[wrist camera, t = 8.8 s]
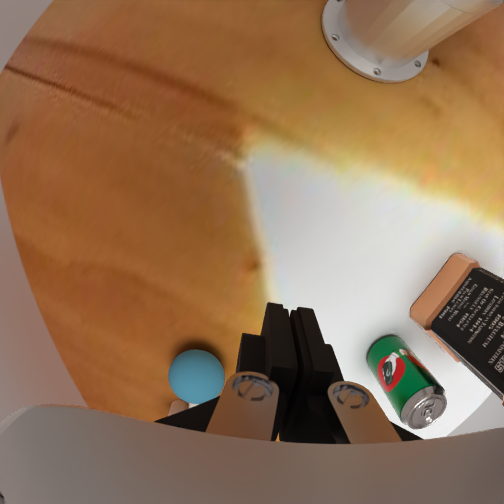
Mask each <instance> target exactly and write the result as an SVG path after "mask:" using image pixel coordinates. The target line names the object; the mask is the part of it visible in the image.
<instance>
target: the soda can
mask: <svg viewBox="0 0 504 504" xmlns="http://www.w3.org/2000/svg"><path fill="white" fill-rule="evenodd" d="M367 362H368V365H369V367H370V369H371V371H372V372H373V374H374V376H375V377H376V379H377V381H378V382H379V384H380V386H381V388H382V389H383V391H384V393H385V394H386V396H387V398H388V399H389V401H390V403H391V405H392V406H393V408H394V410H395V412H396V413H397V415H398V417H399V418H400V420H401V422H402V423H403V424H405V425H408V426H409V427H410V428H412V429H422V428H425V427H427V426H429V425H431V424H432V423H434V422H435V421H436V420H437V419H438V418H439V417H440V416H441V415H442V414H443V412H444V410H445V408H446V405H447V400H446V397H445V390H444V388H443V387H442V386H441V385H440V384H439V382H438V381H437V380H436V379H435V378H434V376H433V375H432V374H431V373H430V372H429V371H428V369H427V368H426V367H425V366H424V365H423V364H422V362H421V361H420V360H419V359H418V358H417V357H416V355H415V354H414V353H413V352H412V351H411V350H410V349H409V347H408V346H407V345H406V344H405V343H404V342H403V341H402V340H401V339H400V338H398V337H395V336H389V337H385V338H383V339H381V340H379V341H378V342H376V343H375V344H374V345H373V347H372V348H371V350H370V351H369V354H368V358H367Z"/></svg>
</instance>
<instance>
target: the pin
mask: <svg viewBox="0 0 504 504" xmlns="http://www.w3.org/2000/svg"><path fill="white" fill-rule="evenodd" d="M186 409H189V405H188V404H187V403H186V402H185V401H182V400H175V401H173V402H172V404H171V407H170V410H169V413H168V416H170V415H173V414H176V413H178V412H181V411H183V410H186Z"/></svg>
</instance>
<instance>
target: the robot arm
mask: <svg viewBox="0 0 504 504" xmlns="http://www.w3.org/2000/svg"><path fill="white" fill-rule="evenodd" d="M503 2H504V0H328V2H327V4H326V5H325V7H324V10H323V13H322V20H321V23H322V31H323V34H324V36H325V39H326V41H327V43H328V45H329V47H330V48H331V50H332V51H333V52H334V54H335V55H336V56H337V57H338V58H339V59H340V60H341V61H342V62H343V63H344V64H345V65H346V66H347V67H349V68H350V69H352V70H353V71H354V72H356V73H358V74H360V75H362V76H364V77H366V78H368V79H371V80H374V81H377V82H383V83H399V82H404V81H406V80H409V79H411V78H413V77H414V76H416V75H417V74H419V73H420V72H421V70H422V69H423V68H424V66H425V64H426V62H427V59H428V54H429V49H430V48H432V47H434V46H435V45H437V44H438V43H440V42H441V41H443V40H444V39H446V38H448V37H449V36H451V35H452V34H454V33H456V32H457V31H459V30H460V29H462V28H464V27H465V26H467V25H468V24H470V23H472V22H473V21H475V20H477V19H478V18H480V17H482V16H483V15H485V14H487V13H489V12H490V11H492V10H493V9H495V8H497V7H498V6H499V5H501V4H502V3H503ZM333 39H335V40H336V41H335V40H333ZM374 72H375V73H376V74H375V73H374ZM278 433H279V440H280V441H283V442H276V441H275V440H276V438H277V436H278ZM0 504H504V428H495V429H490V430H484V431H478V432H472V433H466V434H460V435H454V436H448V437H440V438H433V439H422V438H420V437H418V436H417V435H415V434H413V433H411V432H409V431H407V430H405V429H403V428H402V427H400V426H398V425H396V424H394V423H392V422H391V421H389V420H388V418H387V416H386V415H385V413H384V412H383V410H382V409H381V407H380V405H379V404H378V402H377V401H376V399H375V398H374V396H373V395H372V393H371V392H370V391H369V390H368V389H366V388H365V387H364V386H362V385H359V384H357V383H354V382H349V381H344V379H343V376H342V373H341V370H340V367H339V365H338V362H337V359H336V356H335V354H334V351H333V348H332V346H331V345H330V344H325V343H324V340H323V337H322V334H321V331H320V328H319V325H318V322H317V319H316V316H315V313H314V310H313V309H310V308H303V307H298V308H297V310H292V311H291V313H290V317H289V312H288V309H283V304H276V303H269V302H268V303H267V306H266V311H265V316H264V321H263V326H262V330H261V335H260V336H259V335H253V334H246V333H242V337H241V343H240V348H239V354H238V360H237V367H236V373H235V374H234V375H232V376H230V377H229V379H228V380H227V381H226V384H225V386H224V389H223V391H222V394H221V396H218V397H216V398H213V399H211V400H209V401H206V402H204V403H201V404H199V405H196V406H194V407H191V408H189V409H186V410H183V411H181V412H178V413H176V414H173V415H170V416H167V417H165V418H162V419H159V420H156V421H154V422H151V421H146V420H142V419H137V418H133V417H129V416H125V415H121V414H117V413H113V412H108V411H103V410H99V409H94V408H87V407H80V406H74V405H58V404H41V405H32V406H28V407H25V408H22V409H20V410H18V411H16V412H14V413H13V414H11V415H9V416H8V417H7V418H6V419H4V420H3V421H2V422H1V423H0Z"/></svg>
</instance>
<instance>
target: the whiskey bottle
mask: <svg viewBox="0 0 504 504" xmlns="http://www.w3.org/2000/svg"><path fill="white" fill-rule="evenodd" d="M410 317H411V318H412V319H413V320H414V321H415V322H416V323H417V324H418V325H419V326H420V327H421V328H422V329H423V330H424V331H425V332H426V333H427V334H428V335H429V336H430V337H431V338H432V339H433V340H434V341H435V342H436V343H437V344H438V345H439V346H440V347H441V348H442V349H443V350H444V351H445V352H446V353H447V354H449V355H450V356H451V357H452V358H453V359H454V360H455V361H457V362H462V363H463V364H464V365H465V366H466V367H467V368H468V369H469V370H470V371H472V372H473V373H474V374H475V375H476V376H477V377H478V378H479V379H480V380H481V381H482V382H483V383H484V384H485V385H487V386H488V387H489V388H490V389H491V390H492V391H493V392H494V393H495V394H496V395H497V396H498V397H499V398H500V399H501V400H502V401H503V403H502V404H503V406H504V279H502V278H500V277H499V276H497V275H495V274H493V273H491V272H489V271H487V270H485V269H483V268H482V267H481V266H480V264H479V263H478V262H477V261H475V260H473V259H471V258H469V257H467V256H465V255H463V254H461V253H458V254H453V255H452V256H451V257H450V259H449V260H448V261H447V263H446V264H445V265H444V267H443V268H442V269H441V271H440V272H439V273H438V275H437V276H436V277H435V278H434V280H433V281H432V282H431V284H430V285H429V286H428V287H427V289H426V290H425V291H424V292H423V294H422V295H421V296H420V297H419V298H418V300H417V301H416V302H415V303H414V304H413V306H412V307H411V313H410Z"/></svg>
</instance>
